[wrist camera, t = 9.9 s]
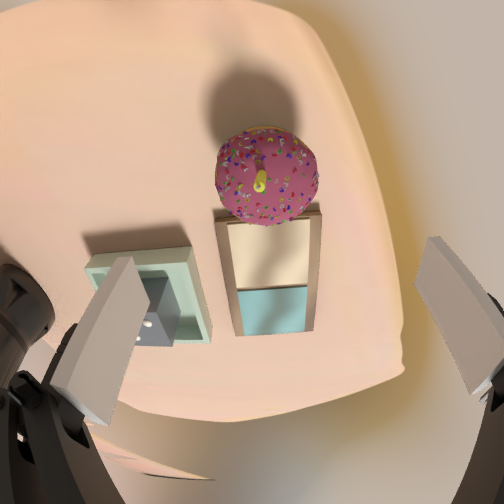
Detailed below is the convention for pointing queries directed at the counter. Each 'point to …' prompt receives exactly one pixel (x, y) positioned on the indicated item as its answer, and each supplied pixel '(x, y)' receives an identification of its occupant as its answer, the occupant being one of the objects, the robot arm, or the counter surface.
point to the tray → (182, 280)
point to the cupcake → (266, 176)
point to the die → (159, 314)
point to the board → (271, 273)
